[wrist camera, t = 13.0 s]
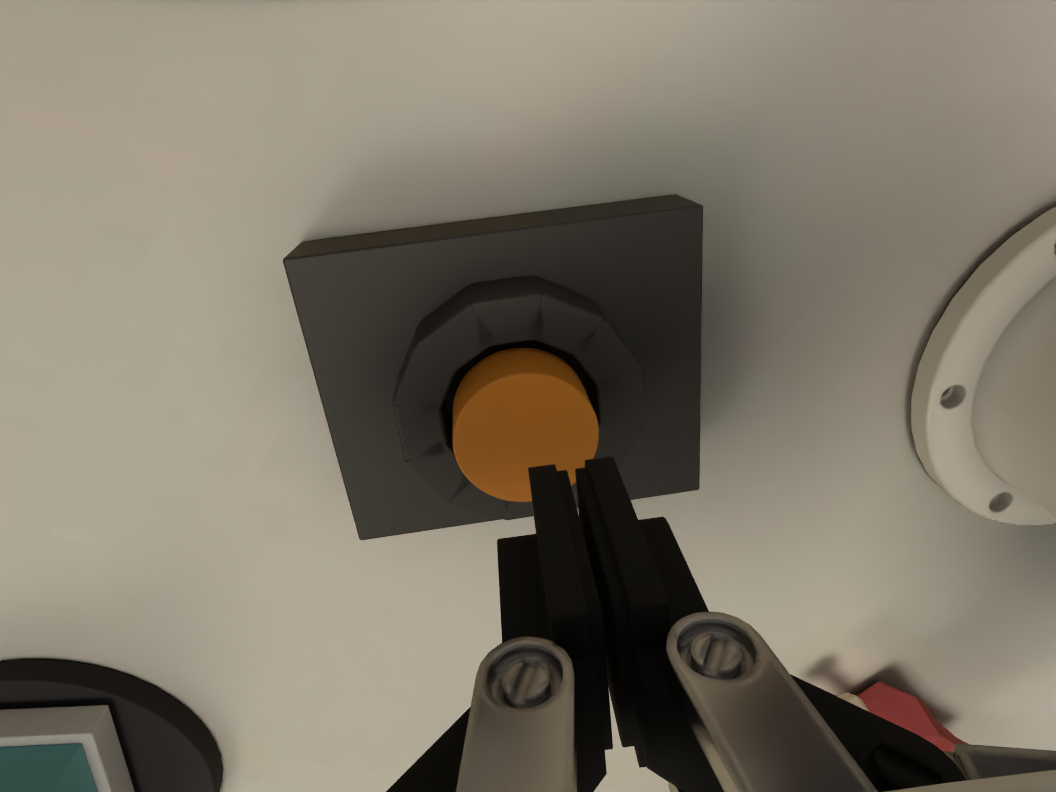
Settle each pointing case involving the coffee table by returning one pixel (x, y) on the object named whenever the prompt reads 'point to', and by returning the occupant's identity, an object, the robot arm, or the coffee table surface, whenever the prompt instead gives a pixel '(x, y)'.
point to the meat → (903, 713)
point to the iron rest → (124, 720)
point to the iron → (61, 751)
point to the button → (521, 421)
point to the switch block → (503, 346)
